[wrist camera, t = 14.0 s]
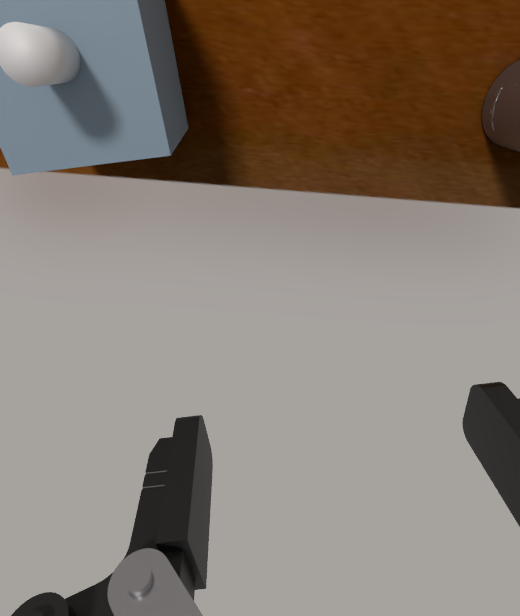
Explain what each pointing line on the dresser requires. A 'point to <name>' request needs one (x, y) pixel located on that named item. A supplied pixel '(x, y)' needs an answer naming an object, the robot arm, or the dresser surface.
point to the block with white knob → (87, 83)
